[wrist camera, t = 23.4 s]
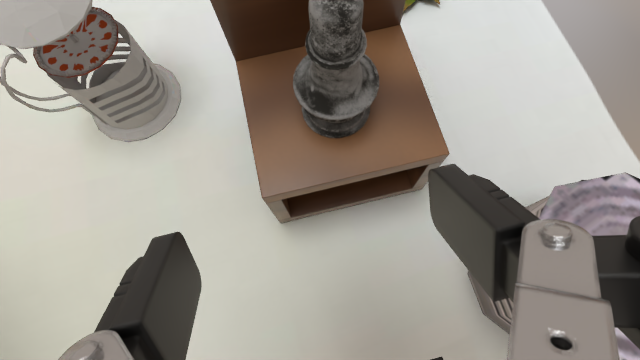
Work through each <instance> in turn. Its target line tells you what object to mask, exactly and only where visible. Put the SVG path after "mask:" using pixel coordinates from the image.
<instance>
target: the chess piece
mask: <svg viewBox="0 0 640 360" xmlns="http://www.w3.org/2000/svg"><path fill="white" fill-rule="evenodd" d="M363 9H364V3H363V0H309V6H308V10H309V20H310V30H309V32H308V34H307V36H306V41H305V47H306V51H307V54H308V55H306V56H305V57H304V58H303V59H302V60H301V62H300V63H299V64H298V66H297V68H296V70H295V73H294V75H293V88H294V93H295V96H296V98H297V100H298V101H299V103H300V105H301V106H302V114H303V118H304V120H305V122H306V123H307V125H308V126H309V127H310V128H311V129H312V130H313V131H314V132H316V133H317V134H319V135H321V136H324V137H328V138H343V137H347V136H350V135H352V134H354V133H356V132H357V131H359V130H360V129H361V128H362V127H363V126H364V124H365V123H366V121H367V120H368V117H369V113H370V105H371V104H372V102H373V101H374V99H375V98H376V96H377V92H378V89H379V74H378V71H377V68H376V66H375V65H374V63H373V62H372V60H371V59H370V58H369V57H368V56H367V55H365V50H366V47H367V39H366V36H365V33H364V31H363V30H362V19H363Z"/></svg>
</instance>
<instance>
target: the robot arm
mask: <svg viewBox="0 0 640 360" xmlns="http://www.w3.org/2000/svg"><path fill="white" fill-rule="evenodd" d="M428 182H429V197H430V211H431V216H432V220H433V223H434V225H435V227H436V229H437V230H438V231H439V233H440V234H441V235H442V237H443V238H444V239H445V240H446V242H447V243H448V244H449V246H450V247H451V248H452V249H453V251H454V252H455V253H456V255H457V256H458V257H459V258H460V260H461V261H462V262H463V264H464V265H465V266H466V267H467V269H468V270H469V271H470V273H471V274H472V275H473V276H474V278H475V279H476V280H477V282H478V283H479V284H480V285H481V287H482V288H483V289H484V291H485V292H486V293H487V294H488V296H489V297H490V298H491V300H492V301H493V302H496V301H500V300H504V299H507V298H509V299H510V300H511V301H512V302H513V309H512V318H511V327H510V336H509V344H508V353H507V360H620V358H619V352H618V346H617V339H616V333H615V328H618V329H619V330H620V331H621V332H622V333H623V334H624V335H625V336H626V337H627V338H628V339H629V340H630V341H631V342H632V343H634V344H635V345H636V346H637V347H638V348H639V349H640V216H638V217H635V218H634V219H632V220H631V222H630V224H629V228H628V233H627V235H603V236H591V234H590V233H589V232H588V231H586V230H585V229H584V228H582V227H580V226H578V225H576V224H574V223H571V222H567V221H563V220H557V219H539V218H538V217H537V216H535V215H534V214H533V213H531V212H530V211H529V210H528V209H526V208H525V207H524V206H522V205H521V204H520V203H518V202H517V201H516V200H515V199H513V198H512V197H509V195H508V194H507V193H505V192H504V191H503V190H500V188H499V187H498V186H496V185H495V184H494V183H492V182H491V181H490V180H488V179H485V178H482V177H479V176H477V175H474V174H473V175H469V176H468V175H467V174H466V173H465V172H463V171H462V170H461V169H460V168H459V167H457V166H456V165H455V164H450V165H446V166H442V167H438V168H434V169H430V170H429V173H428ZM200 292H201V276H200V272H199V270H198V267H197V265H196V263H195V261H194V259H193V256H192V254H191V252H190V250H189V248H188V245H187V243H186V241H185V239H184V237H183V235H182V234H181V233H180V232H175V233H171V234H167V235H163V236H159V237H155V238H153V239H152V241H151V243H150V245H149V247H148V249H147V251H146V253H145V255H144V257H140V258H138V259H137V260H136V261H135V262H134V263H133V264H132V265H131V266H130V267H129V269H128V270H127V271H126V272H125V274H124V276H123V278H122V280H121V282H120V286H118V288H117V290H116V291H115V293H114V297H112V299H111V301H110V303H109V305H108V307H107V309H106V311H105V312H104V314H103V316H102V318H101V320H100V322H99V324H98V326H97V328H96V330H95V332H94V333H92V334H90V335H88V336H86V337H84V338H82V339H81V340H79V341H78V342H76V343H75V344H74V345H72V346H71V347H70V348H69V349H68V350H67V351H66V352H65V353H64V354H63V355H62V356H61V357H60V358H59V360H185V359H186V354H187V350H188V346H189V341H190V337H191V332H192V328H193V323H194V319H195V314H196V310H197V305H198V301H199V297H200ZM431 360H443V358H442V357H439V358H435V359H431Z"/></svg>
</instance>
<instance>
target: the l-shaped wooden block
mask: <svg viewBox="0 0 640 360" xmlns="http://www.w3.org/2000/svg"><path fill="white" fill-rule="evenodd" d="M210 1H211V3H212V6H213V8H214V10H215V13H216V15H217V18H218V20H219V22H220V25H221V27H222V30H223V32H224V34H225V37H226V39H227V41H228V44H229V46H230V49H231V51H232V53H233V56H234V58H235V60H236V65H237V70H238V75H239V80H240V86H241V91H242V96H243V101H244V107H245V112H246V117H247V122H248V127H249V133H250V138H251V143H252V148H253V153H254V159H255V164H256V169H257V174H258V180H259V185H260V190H261V195H262V198H263V200H264V201H265V203H266V204H267V205H268V207H269V208H270V210H271V211H272V212H273V214H274V215H275V216H276V218H277V219H278V221H279V222H280V223H284V222H288V221H292V220H296V219H300V218H304V217H309V216H313V215H317V214H321V213H325V212H329V211H333V210H338V209H342V208H346V207H350V206H354V205H358V204H362V203H367V202H371V201H375V200H379V199H383V198H387V197H391V196H395V195H400V194H404V193H408V192H412V191H416V190H420V189H422V188H423V187H424V185H425V184H426V183H427V182H428V173H429V170H430V169H434V168H438V167H439V166H440V165H441V164H442V162H443V161H444V160H445V159H446V157H447V156H448V155H449V151H448V148H447V145H446V143H445V140H444V138H443V135H442V132H441V130H440V127H439V125H438V122H437V119H436V117H435V114H434V112H433V109H432V106H431V104H430V101H429V99H428V96H427V93H426V91H425V88H424V85H423V83H422V80H421V78H420V75H419V72H418V70H417V67H416V65H415V62H414V59H413V57H412V54H411V52H410V49H409V46H408V44H407V41H406V39H405V36H404V33H403V31H402V28H401V26H400V22H401V18H402V14H403V10H404V5H405V1H406V0H363V3H364V9H363V19H362V30H363V31H364V33H365V36H366V39H367V47H366V50H365V55H367V56H368V57H369V58H370V59H371V60H372V62H373V63H374V65H375V66H376V68H377V71H378V74H379V89H378V92H377V96H376V98H375V99H374V101H373V102H372V104H371V105H370V113H369V117H368V120H367V121H366V123H365V124H364V126H363V127H362V128H361V129H360V130H359V131H357V132H356V133H354V134H352V135H350V136H347V137H343V138H328V137H324V136H321V135H319V134H317V133H316V132H314V131H313V130H312V129H311V128H310V127H309V126H308V125H307V123H306V122H305V120H304V118H303V114H302V106H301V105H300V103H299V101H298V100H297V98H296V96H295V93H294V88H293V75H294V73H295V70H296V68H297V66H298V64H299V63H300V62H301V60H302V59H303V58H304V57H305V56H306V55H308V54H307V51H306V47H305V41H306V36H307V34H308V32H309V30H310V20H309V10H308V6H309V0H210Z"/></svg>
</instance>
